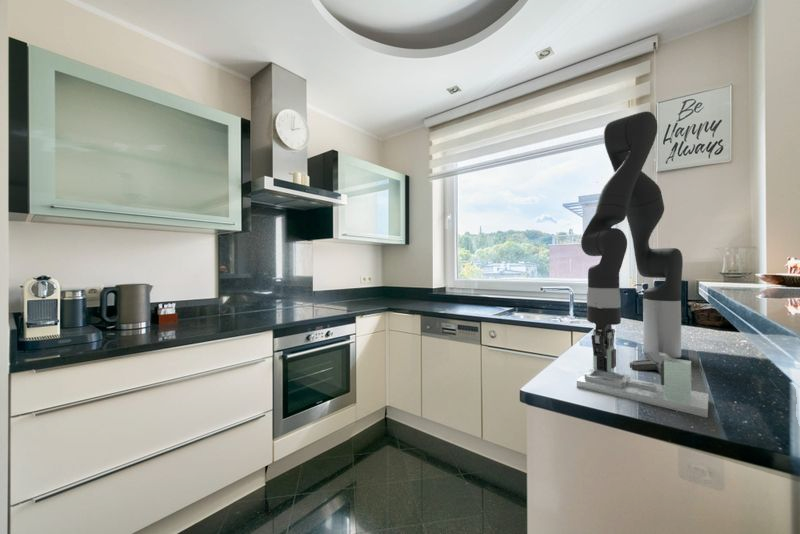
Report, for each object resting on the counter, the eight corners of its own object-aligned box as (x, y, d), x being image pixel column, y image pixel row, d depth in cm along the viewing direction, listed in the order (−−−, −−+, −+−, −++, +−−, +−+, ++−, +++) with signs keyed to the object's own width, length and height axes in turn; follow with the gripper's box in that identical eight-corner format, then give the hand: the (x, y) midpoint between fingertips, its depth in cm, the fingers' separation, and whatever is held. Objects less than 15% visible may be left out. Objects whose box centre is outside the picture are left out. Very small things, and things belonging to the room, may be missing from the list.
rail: (588, 375, 82) (588, 342, 82) (708, 401, 66) (708, 360, 66) (576, 386, 75) (576, 350, 75) (707, 417, 59) (707, 371, 59)
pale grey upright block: (596, 368, 87) (596, 343, 87) (616, 372, 84) (616, 345, 84) (593, 371, 85) (593, 345, 85) (613, 375, 82) (613, 348, 82)
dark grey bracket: (633, 366, 83) (683, 365, 78) (623, 351, 97) (664, 350, 92) (636, 380, 83) (686, 380, 78) (625, 363, 97) (667, 362, 92)
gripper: (594, 301, 92) (594, 360, 92) (579, 306, 82) (580, 373, 82) (625, 303, 87) (626, 366, 87) (614, 308, 77) (614, 380, 77)
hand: (603, 369), depth 85 cm, fingers closed on pale grey upright block, 3 cm apart
